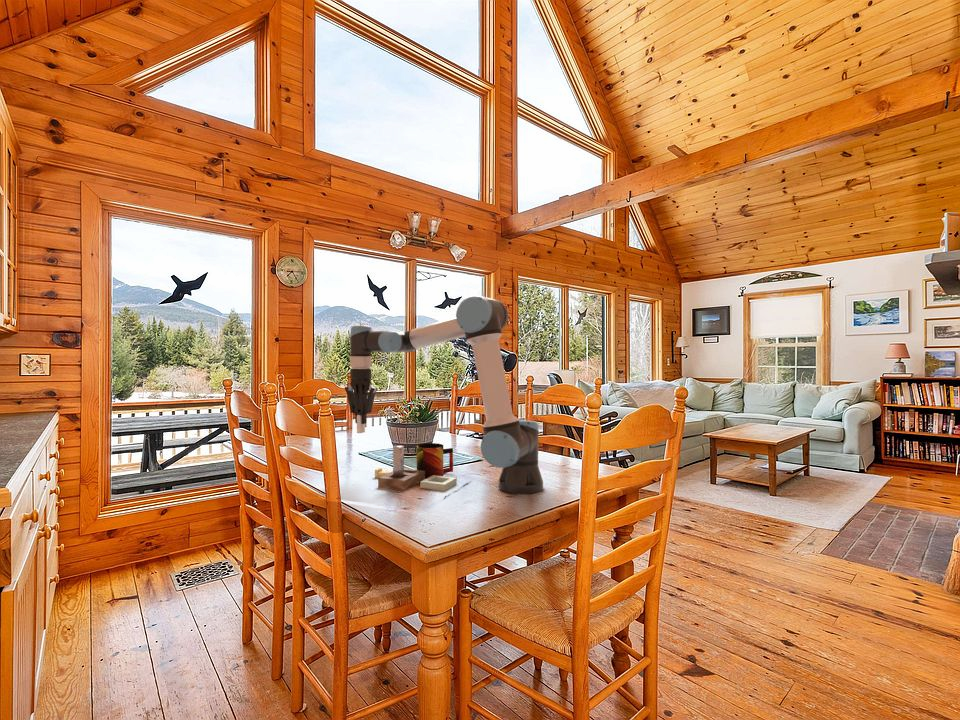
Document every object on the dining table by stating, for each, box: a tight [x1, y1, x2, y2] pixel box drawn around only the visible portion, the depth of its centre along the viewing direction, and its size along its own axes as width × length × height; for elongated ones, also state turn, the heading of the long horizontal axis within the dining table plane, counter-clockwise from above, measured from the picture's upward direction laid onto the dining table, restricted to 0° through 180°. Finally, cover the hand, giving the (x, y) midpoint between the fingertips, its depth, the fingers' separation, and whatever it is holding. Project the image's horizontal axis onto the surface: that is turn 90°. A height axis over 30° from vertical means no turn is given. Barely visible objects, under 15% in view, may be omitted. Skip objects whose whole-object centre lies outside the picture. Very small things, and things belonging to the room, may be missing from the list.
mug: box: [416, 442, 454, 479], centre depth 178 cm, size 10×14×12 cm
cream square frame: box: [419, 475, 458, 492], centre depth 163 cm, size 9×9×3 cm
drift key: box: [374, 467, 391, 479], centre depth 173 cm, size 10×3×4 cm, turn 67°
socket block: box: [377, 468, 425, 491], centre depth 166 cm, size 10×14×4 cm
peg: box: [392, 444, 405, 478], centre depth 164 cm, size 4×4×13 cm
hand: (360, 432), depth 177 cm, fingers closed
